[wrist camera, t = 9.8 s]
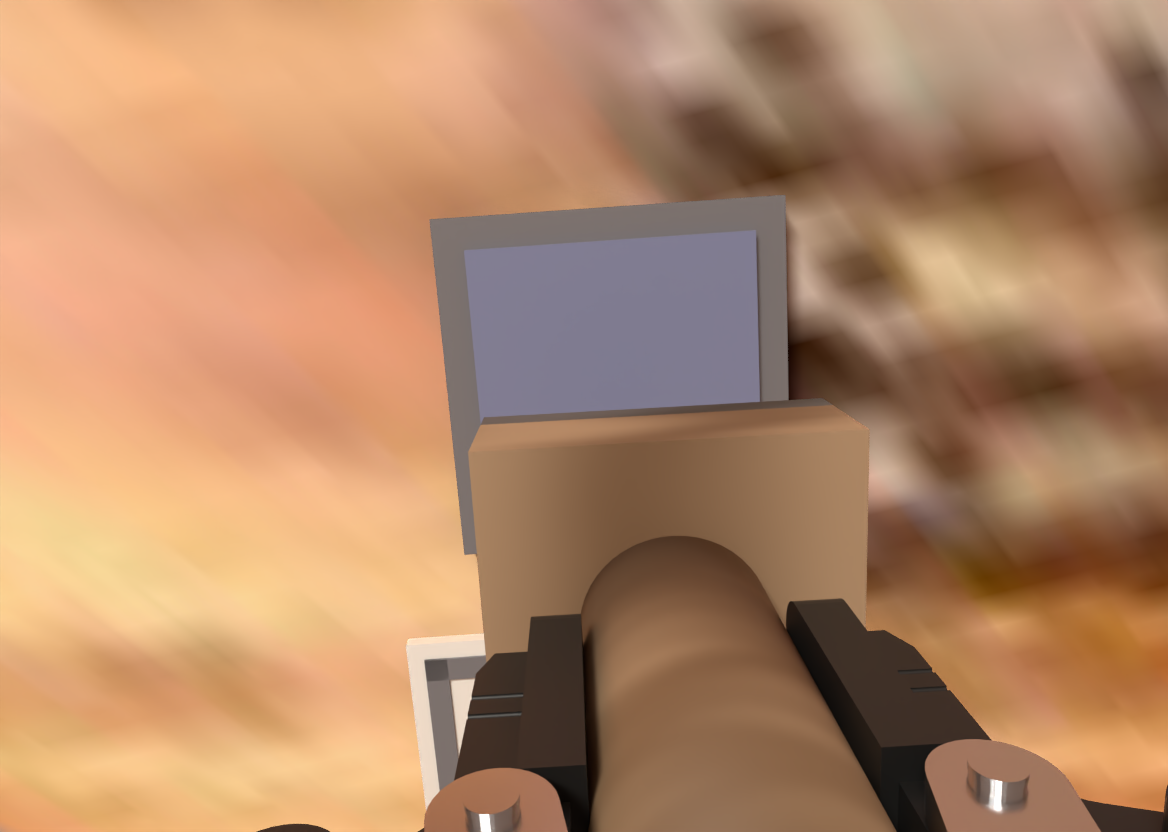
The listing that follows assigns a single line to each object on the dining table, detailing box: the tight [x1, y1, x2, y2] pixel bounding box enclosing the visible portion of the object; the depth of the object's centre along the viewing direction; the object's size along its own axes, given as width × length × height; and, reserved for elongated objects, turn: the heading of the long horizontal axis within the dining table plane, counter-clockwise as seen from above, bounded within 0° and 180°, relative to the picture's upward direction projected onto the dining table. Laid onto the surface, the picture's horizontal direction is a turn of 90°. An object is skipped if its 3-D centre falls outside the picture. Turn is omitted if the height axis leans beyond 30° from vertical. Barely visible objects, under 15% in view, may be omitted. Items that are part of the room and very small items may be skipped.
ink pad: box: [430, 195, 789, 555], centre depth 28 cm, size 11×11×2 cm
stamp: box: [468, 398, 897, 832], centre depth 11 cm, size 6×6×10 cm
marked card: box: [406, 633, 486, 811], centre depth 32 cm, size 14×14×1 cm
